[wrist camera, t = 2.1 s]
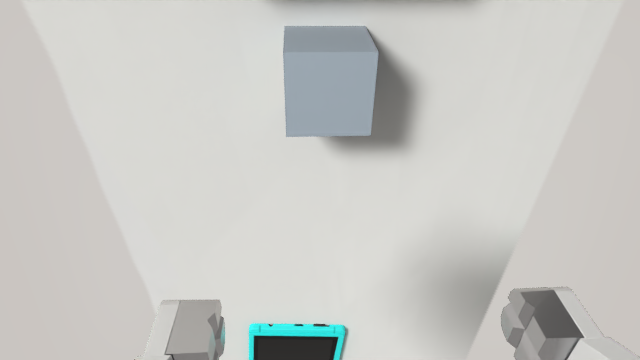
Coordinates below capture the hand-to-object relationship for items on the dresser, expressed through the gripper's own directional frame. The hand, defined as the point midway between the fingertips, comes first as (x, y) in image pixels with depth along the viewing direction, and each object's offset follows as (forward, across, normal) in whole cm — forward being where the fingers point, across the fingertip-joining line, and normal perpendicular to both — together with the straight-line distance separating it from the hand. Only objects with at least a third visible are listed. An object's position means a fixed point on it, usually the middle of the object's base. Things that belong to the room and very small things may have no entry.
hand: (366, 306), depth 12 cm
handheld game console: (+20, +3, +35) cm, 40 cm away
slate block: (+19, 0, 0) cm, 19 cm away
